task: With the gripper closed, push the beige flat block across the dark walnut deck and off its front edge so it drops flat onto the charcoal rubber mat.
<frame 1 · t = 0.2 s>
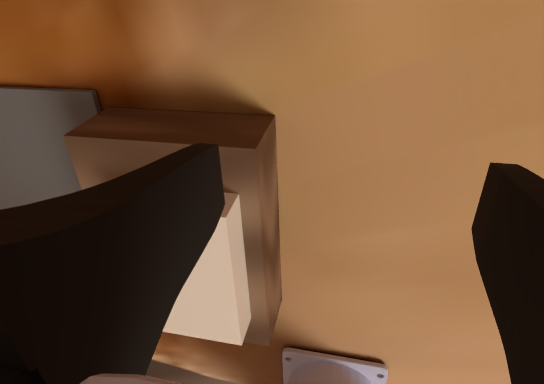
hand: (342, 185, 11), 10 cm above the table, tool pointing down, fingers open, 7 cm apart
beige flat block: (194, 255, 23), point 4 cm above the table, touching deck
rubber mat: (58, 197, 28), on the table
deck: (203, 213, 26), on the table
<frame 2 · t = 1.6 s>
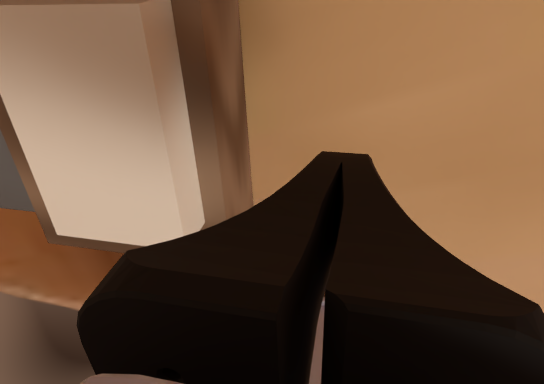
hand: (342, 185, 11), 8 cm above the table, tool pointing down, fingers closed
beige flat block: (119, 122, 16), point 4 cm above the table, touching deck
deck: (145, 90, 19), on the table
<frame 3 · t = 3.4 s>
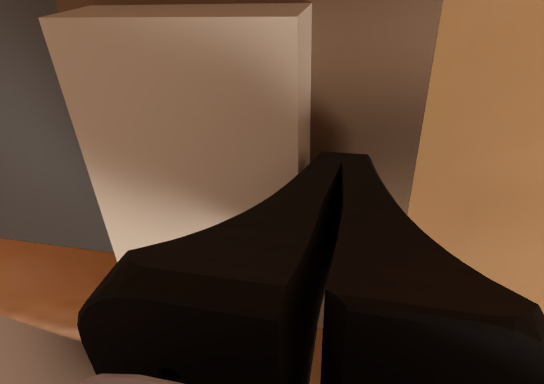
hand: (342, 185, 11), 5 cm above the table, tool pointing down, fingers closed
beige flat block: (214, 161, 13), point 4 cm above the table
rubber mat: (34, 105, 18), on the table
deck: (272, 116, 16), on the table
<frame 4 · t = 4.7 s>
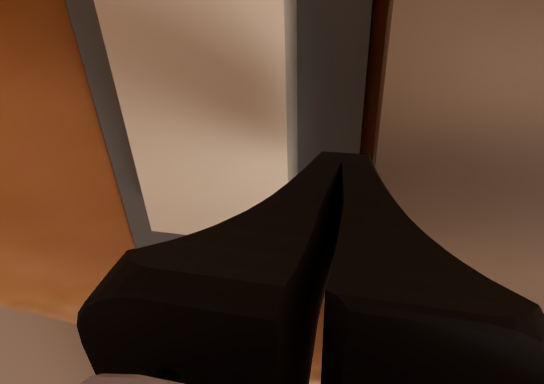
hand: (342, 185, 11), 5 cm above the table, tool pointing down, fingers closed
beige flat block: (203, 138, 14), point 2 cm above the table, tilted 180°, touching rubber mat
rubber mat: (222, 113, 16), on the table
deck: (525, 128, 14), on the table
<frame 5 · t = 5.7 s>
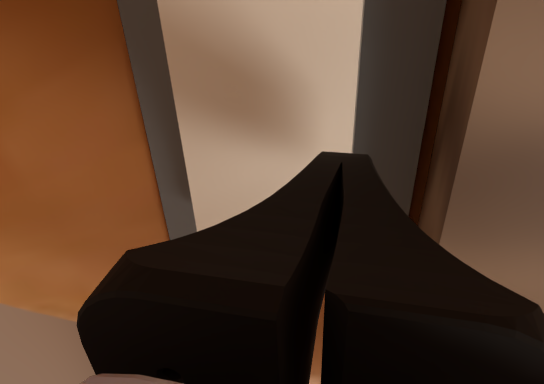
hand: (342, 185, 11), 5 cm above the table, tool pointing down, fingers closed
beige flat block: (262, 141, 14), point 2 cm above the table, tilted 180°, touching rubber mat
rubber mat: (274, 115, 16), on the table
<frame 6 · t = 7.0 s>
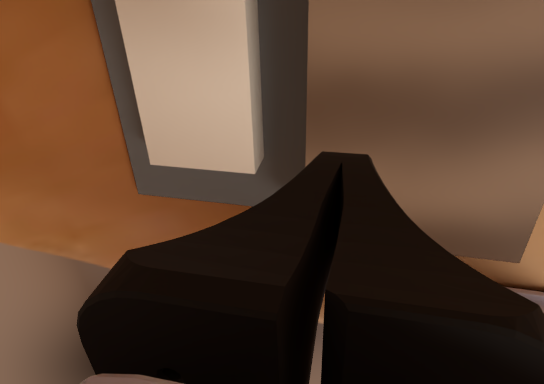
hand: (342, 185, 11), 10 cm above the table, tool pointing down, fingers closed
beige flat block: (189, 87, 19), point 2 cm above the table, tilted 180°, touching rubber mat
rubber mat: (205, 73, 21), on the table
deck: (424, 81, 19), on the table
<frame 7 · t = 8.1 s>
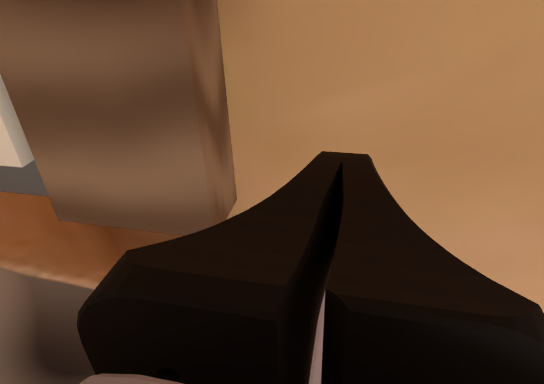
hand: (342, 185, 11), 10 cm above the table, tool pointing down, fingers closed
deck: (141, 88, 23), on the table
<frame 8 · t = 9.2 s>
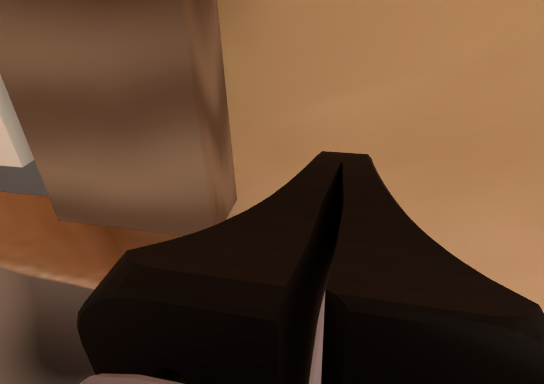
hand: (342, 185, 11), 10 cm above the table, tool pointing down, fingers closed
deck: (141, 88, 23), on the table
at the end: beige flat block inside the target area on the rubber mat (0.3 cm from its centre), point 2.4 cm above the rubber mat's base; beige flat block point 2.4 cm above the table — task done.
